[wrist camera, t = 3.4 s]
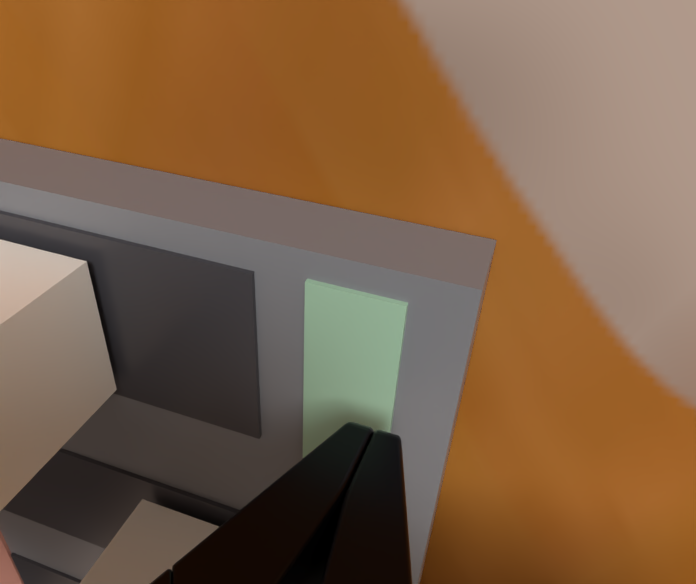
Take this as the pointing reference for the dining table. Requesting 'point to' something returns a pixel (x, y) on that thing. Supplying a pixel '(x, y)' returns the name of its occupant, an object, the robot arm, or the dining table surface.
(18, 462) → the handle
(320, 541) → the robot arm
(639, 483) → the dining table surface
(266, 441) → the breaker panel
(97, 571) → the handle
